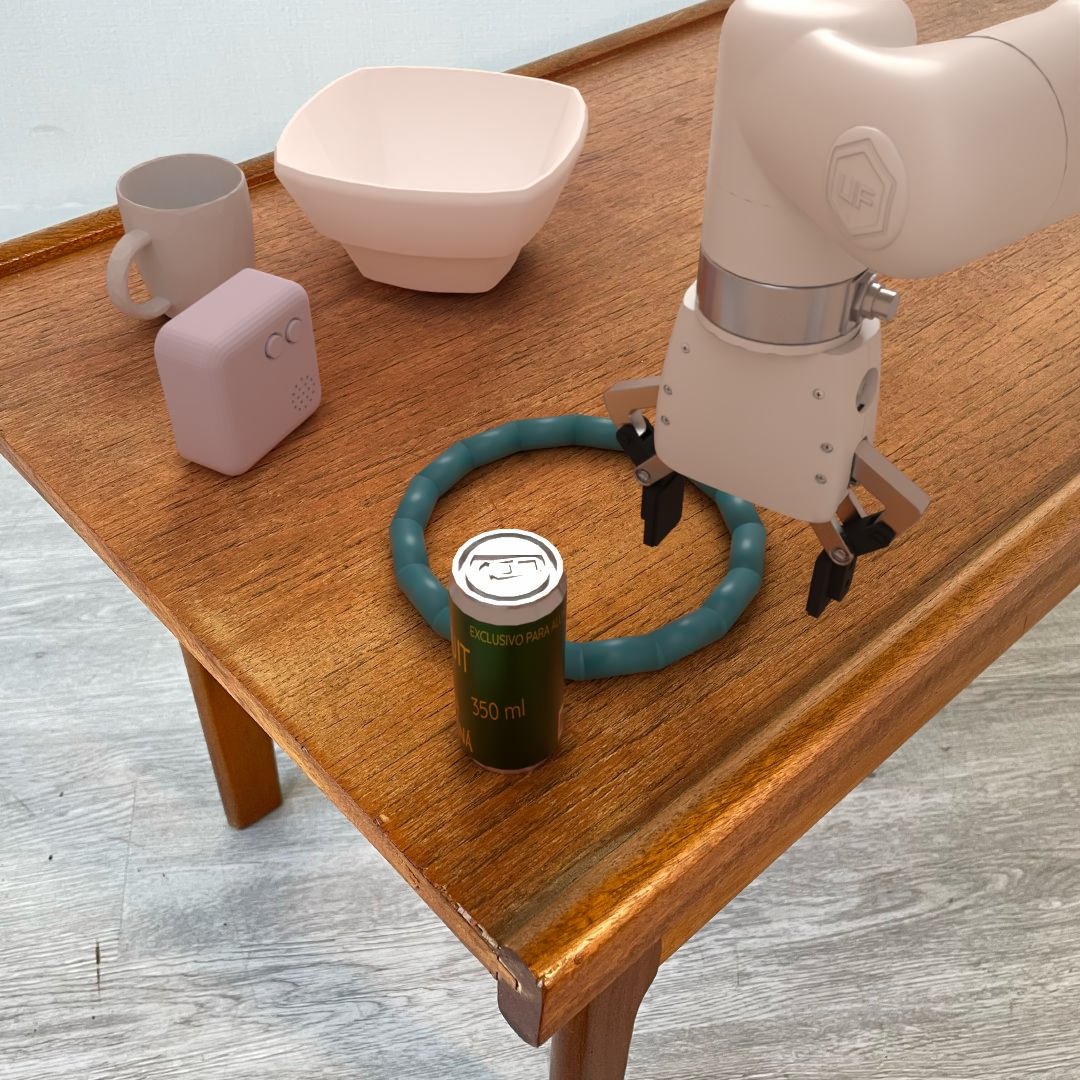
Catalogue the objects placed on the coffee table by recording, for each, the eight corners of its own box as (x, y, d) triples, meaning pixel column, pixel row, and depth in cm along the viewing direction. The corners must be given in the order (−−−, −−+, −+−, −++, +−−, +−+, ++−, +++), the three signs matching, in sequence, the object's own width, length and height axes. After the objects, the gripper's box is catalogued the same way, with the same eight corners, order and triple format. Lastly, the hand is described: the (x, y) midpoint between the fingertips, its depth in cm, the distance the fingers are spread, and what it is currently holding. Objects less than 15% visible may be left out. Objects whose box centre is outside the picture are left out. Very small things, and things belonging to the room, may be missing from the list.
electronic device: (239, 490, 76) (212, 356, 69) (182, 468, 77) (149, 334, 71) (333, 408, 82) (316, 278, 76) (278, 388, 84) (256, 260, 77)
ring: (823, 515, 74) (829, 490, 73) (641, 750, 61) (644, 725, 60) (530, 396, 83) (530, 372, 82) (315, 577, 70) (311, 552, 69)
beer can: (553, 690, 64) (557, 520, 56) (571, 772, 60) (578, 602, 52) (451, 702, 63) (441, 531, 55) (463, 785, 59) (453, 615, 51)
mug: (199, 262, 97) (175, 142, 90) (289, 292, 93) (270, 169, 87) (83, 338, 88) (46, 212, 82) (177, 373, 85) (147, 245, 78)
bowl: (548, 356, 87) (550, 208, 79) (259, 318, 91) (234, 172, 83) (603, 215, 103) (610, 80, 95) (357, 187, 107) (343, 54, 99)
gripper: (1001, 303, 52) (919, 588, 64) (655, 202, 60) (637, 474, 71) (939, 384, 48) (863, 676, 59) (572, 264, 55) (567, 544, 66)
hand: (740, 565), depth 65 cm, fingers open, 9 cm apart
